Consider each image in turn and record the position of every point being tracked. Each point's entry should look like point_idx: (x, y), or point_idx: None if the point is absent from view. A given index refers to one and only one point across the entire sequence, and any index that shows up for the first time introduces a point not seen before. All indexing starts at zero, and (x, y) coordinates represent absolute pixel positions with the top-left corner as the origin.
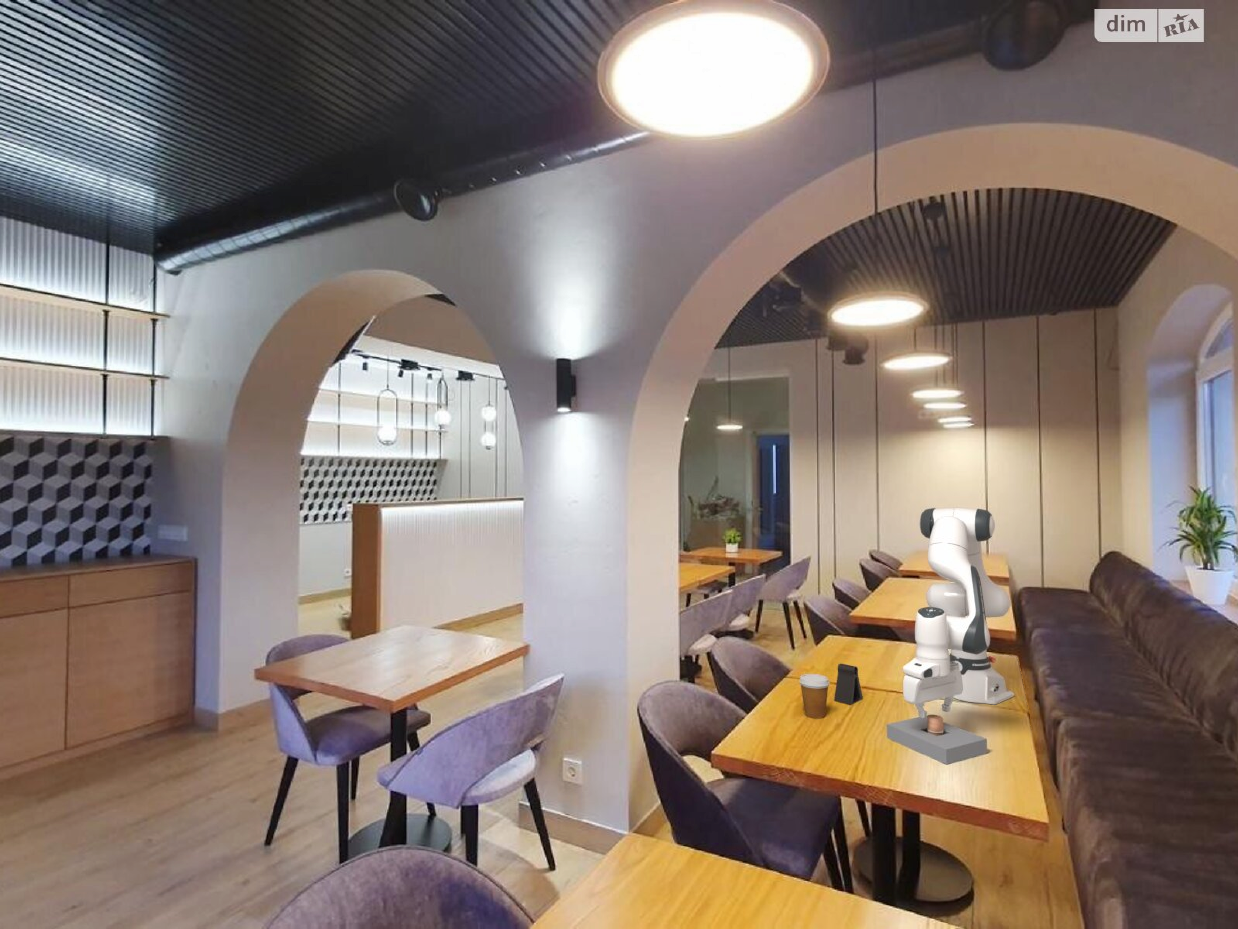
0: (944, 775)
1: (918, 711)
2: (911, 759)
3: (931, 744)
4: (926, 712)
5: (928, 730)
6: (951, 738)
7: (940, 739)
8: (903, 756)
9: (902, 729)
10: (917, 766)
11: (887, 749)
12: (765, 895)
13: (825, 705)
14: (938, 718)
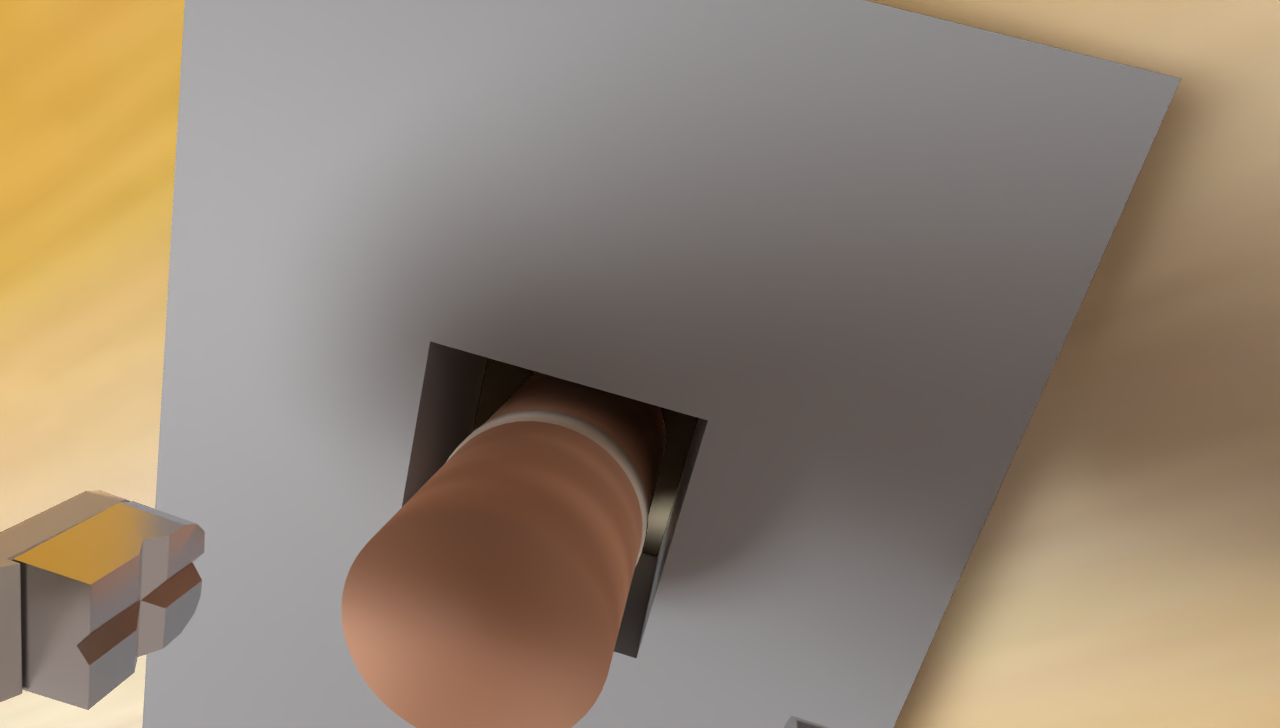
0: (70, 710)
1: (1, 537)
2: (86, 413)
3: None
4: (83, 691)
5: (449, 457)
6: None
7: (333, 650)
8: (74, 330)
9: (218, 156)
10: (17, 510)
11: (68, 123)
12: None
13: None
14: (455, 702)
